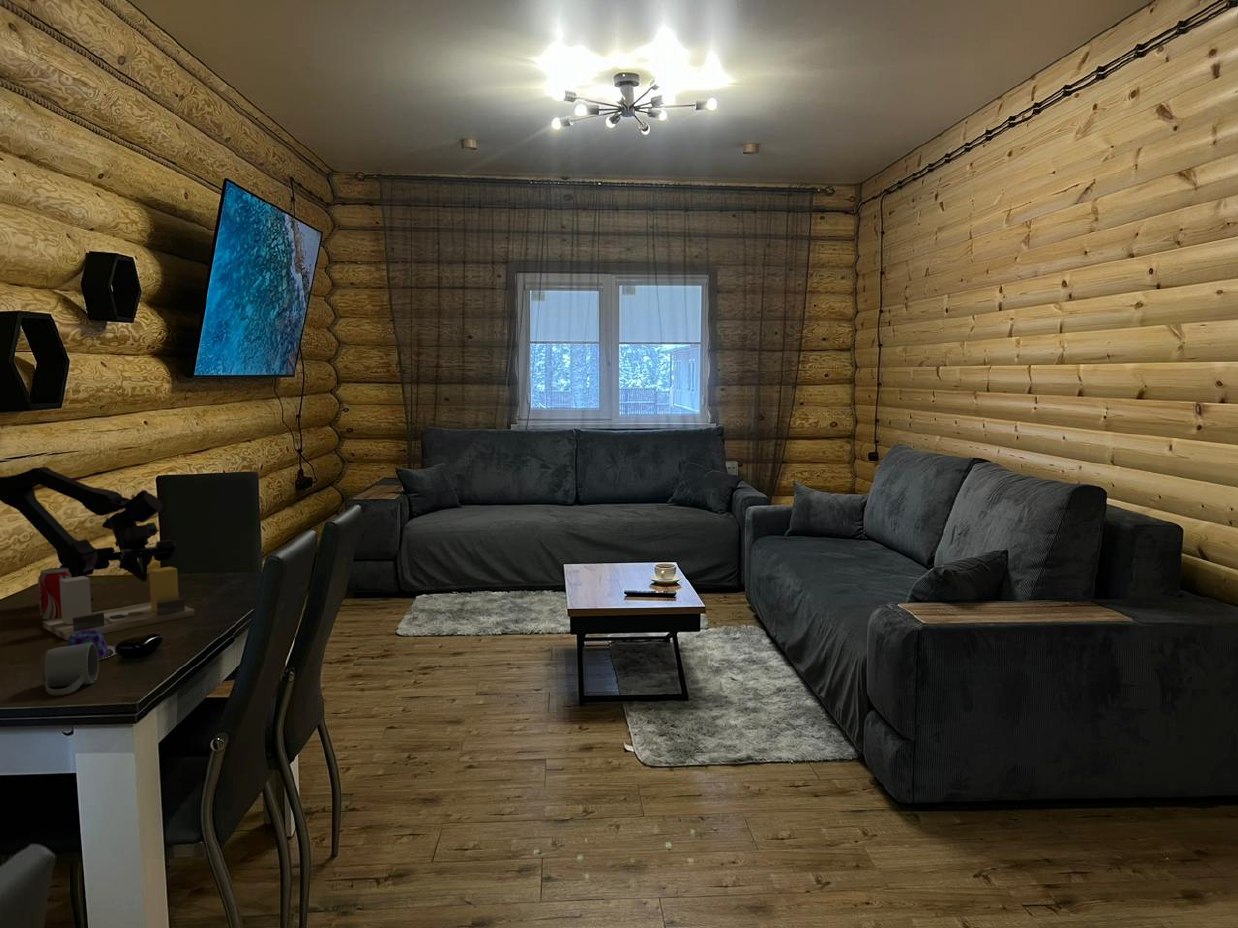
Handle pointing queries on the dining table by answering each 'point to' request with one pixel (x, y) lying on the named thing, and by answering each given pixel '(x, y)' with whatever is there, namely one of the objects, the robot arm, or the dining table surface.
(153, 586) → the large amber box
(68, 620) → the white tall rectangular block
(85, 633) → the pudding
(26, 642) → the dining table surface
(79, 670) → the ceramic mug
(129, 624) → the key board
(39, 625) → the dining table surface
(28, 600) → the dining table surface
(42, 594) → the soda can
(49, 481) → the robot arm
